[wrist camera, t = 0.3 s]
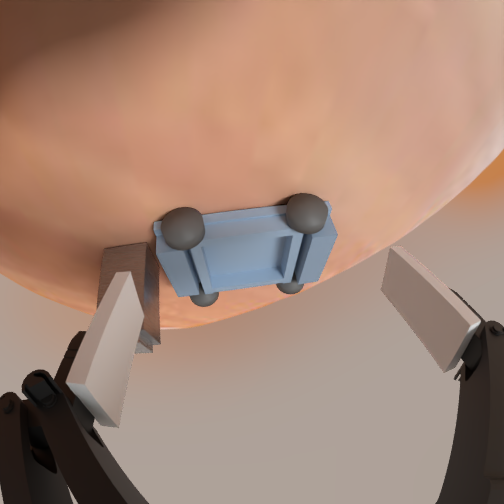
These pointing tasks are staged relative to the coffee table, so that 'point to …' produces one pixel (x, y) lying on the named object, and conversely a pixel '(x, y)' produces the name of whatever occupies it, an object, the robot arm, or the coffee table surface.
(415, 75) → the coffee table surface
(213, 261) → the chassis
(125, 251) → the block
